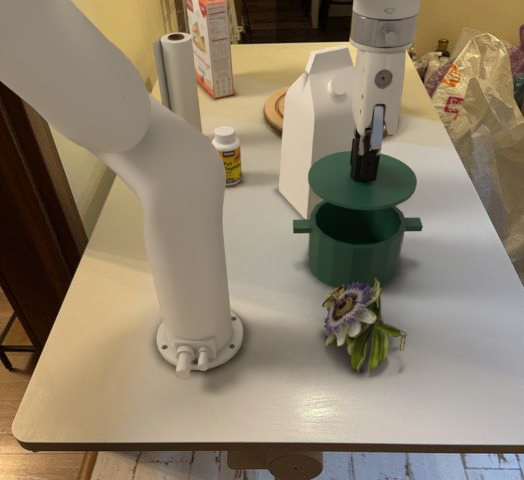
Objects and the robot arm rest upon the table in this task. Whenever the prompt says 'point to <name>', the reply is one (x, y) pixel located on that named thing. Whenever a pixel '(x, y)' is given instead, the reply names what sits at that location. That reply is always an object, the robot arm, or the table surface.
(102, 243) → the table surface
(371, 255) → the pot
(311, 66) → the milk
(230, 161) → the supplement bottle
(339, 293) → the passion flower
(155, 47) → the paper towel roll
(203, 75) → the cracker box
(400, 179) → the lid
